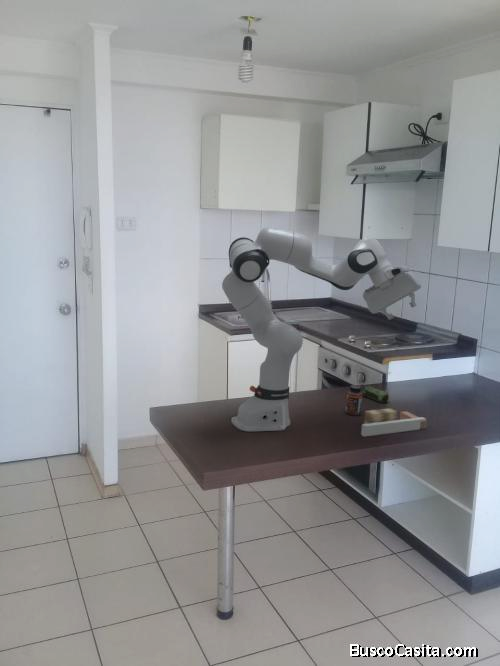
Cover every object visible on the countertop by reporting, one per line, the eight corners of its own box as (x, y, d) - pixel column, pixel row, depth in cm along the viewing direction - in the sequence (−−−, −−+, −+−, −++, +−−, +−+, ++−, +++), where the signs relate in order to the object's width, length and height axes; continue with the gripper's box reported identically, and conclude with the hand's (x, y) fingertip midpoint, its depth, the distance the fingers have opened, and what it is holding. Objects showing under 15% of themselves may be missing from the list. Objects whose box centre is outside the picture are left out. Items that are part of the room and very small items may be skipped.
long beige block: (370, 432, 226) (371, 414, 224) (363, 428, 229) (365, 411, 228) (395, 428, 231) (397, 411, 229) (389, 425, 234) (390, 408, 233)
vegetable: (390, 403, 263) (391, 392, 262) (382, 404, 260) (383, 393, 259) (367, 394, 274) (368, 383, 273) (359, 395, 271) (360, 385, 270)
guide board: (364, 436, 220) (365, 426, 220) (345, 425, 231) (346, 415, 230) (425, 428, 232) (427, 418, 231) (405, 418, 243) (406, 408, 242)
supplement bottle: (343, 413, 245) (345, 387, 242) (348, 410, 250) (350, 383, 248) (357, 416, 242) (360, 389, 240) (362, 412, 247) (364, 386, 245)
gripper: (357, 293, 220) (374, 326, 217) (405, 264, 209) (424, 299, 207) (364, 292, 225) (381, 325, 223) (411, 264, 214) (430, 298, 212)
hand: (402, 312), depth 215 cm, fingers open, 8 cm apart
